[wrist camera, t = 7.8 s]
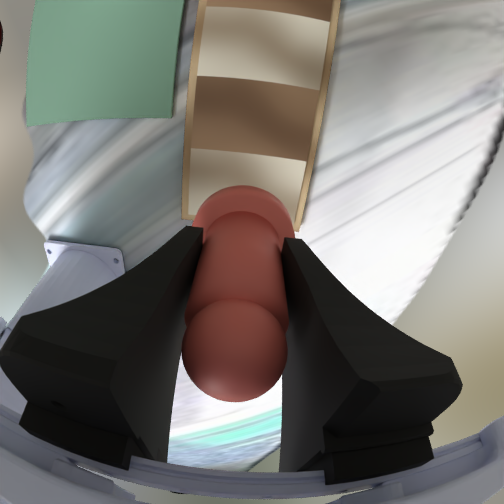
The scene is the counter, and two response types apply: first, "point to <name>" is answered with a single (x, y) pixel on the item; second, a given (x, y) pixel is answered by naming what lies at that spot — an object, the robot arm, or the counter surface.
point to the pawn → (238, 296)
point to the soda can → (1, 36)
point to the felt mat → (102, 59)
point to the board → (256, 98)
